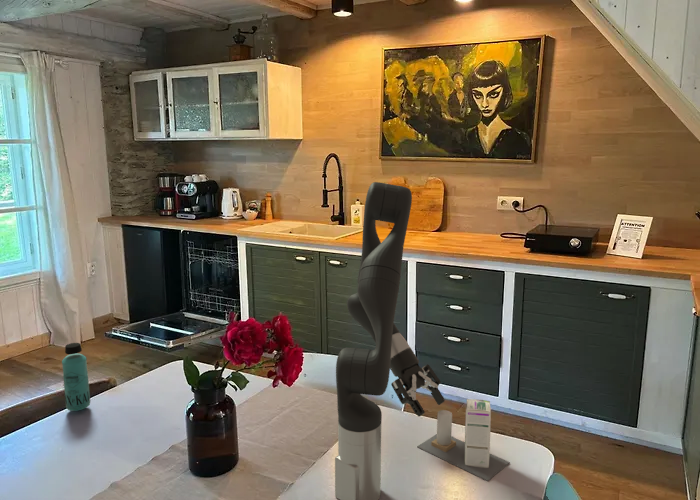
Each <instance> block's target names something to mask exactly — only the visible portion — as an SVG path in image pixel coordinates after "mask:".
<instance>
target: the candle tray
mask: <svg viewBox="0 0 700 500" xmlns="http://www.w3.org/2000/svg"><path fill="white" fill-rule="evenodd" d="M436 418H437V419H436V422H437V424H436V434H434V435H433V436H431V437H429V438H428V439H426V440H424V441H423V442H422V443H420V444H419V445H417V446H416V447H417V448H418V449H419V450H422V451H424V452H427V453H428V454H430V455H432V456H435V458H438V459H440V460H442V461H444V462H447V463H449V464H451V465H453V466H455V467H457V468H459V469H461V470H463V471H466V472H467V473H470V474H471V475H472V476H473V475H474V476H476V477H477V478H480V479H482V480H484V481H486V482H489V481H491V479H492V478H494V476H496V475H497V474H498V473H500V472H501V471H502V470H503V469H504V468H506V467H507V466H508V465H509V464H510V461H508V460H506V459H503V458H501V457H499V456H497V455H495V454H492V453H489V468H483V467H474V466H468V465H465V441H463V440H461V439H458V438H456V437H454V436H452V427H453V413H452V411H449V410H445V409H442V410H439V411H437V417H436Z"/></svg>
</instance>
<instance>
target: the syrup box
mask: <svg viewBox="0 0 700 500" xmlns="http://www.w3.org/2000/svg"><path fill="white" fill-rule="evenodd" d="M491 416H492V410H491V401H490V400H486V399H475V398H466V403H465V427H464V429H465V430H464V431H465V432H464V442H465V465H468V466H474V467H483V468H489V453H490V452H491V451H490V449H491V443H490V442H491V422H492V421H491ZM490 454H491V453H490Z"/></svg>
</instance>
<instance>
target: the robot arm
mask: <svg viewBox="0 0 700 500" xmlns="http://www.w3.org/2000/svg"><path fill="white" fill-rule="evenodd" d="M412 203H413V197H412V190H411V189H410V188H408V187H405V186H402V185H395V184H392V183H391V184H390V183H385V182H378V181H374V182H372V183H371V184H370V185H369V187H368V189H367V193H366V197H365V203H364V210H363V211H364V212H363V224H362V245H361V247H362V248H361V257H360V258H361V259H360V264H359V268H358V274H357V292H356V293H353V294H351V295H350V296H349V297H348V298H347V301H346V306H347V310H348V313H349V315H350V316H351V317H352V318H353V320H354V321H356V323H358V324H359V325H360V326H361V327H362V328H363V329H364V330H365V332H367V333H368V334H369V335H370V336H371V338H372V340H373V341H374V343H375V348H374V349H368V348H367V349H366V348H357V347H344V348H342V349H341V350H340V351H339V353H338V355H337V358H336V363H335V382H336V397H337V399H336V400H337V401H336V402H337V403H336V405H337V414H338V416H337V419H338V420H337V421H338V422H337V425H338V427H337V429H338V431H337V432H338V433H337V434H338V435H337V440H338V441H337V442H338V443H337V445H338V446H337V447H338V448H337V450H338V451H337V452H338V454H337V456H335V457H334V486H335V487H334V492H335V493H334V497H335V498H337V499H338V500H379V499H380V498H381V489H382V488H381V486H382V485H381V484H382V483H381V481H382V480H381V479H382V477H381V475H382V473H381V472H382V413H383V412H382V410H381V407H380V406H379V405H378V404H377V403H375V402H374V401H372V400H370V399H368V398H367V397H365V396H363V395H367V396H382V395H384V394H385V392H386V391H387V388H388V385H389V379H390V370H391V372H392V373H391V374H393V376H394V377H396V379H395V380H393V381H392V382H391V383H390V384H391V387H392V389H393V391H394V392H395V394H396V396H397V398H398V400H399V402H400V404H402V405H405V404H408V405H409V406H410V407H411V409H412V410H413V412H414V414H415V415H416V416H418V417H421V416H422V415H424V414H425V410H424V408H423V406H422V405H421V403H420V402H419V400H418V399H417V396H416V393H417V390H419V389H420V388H421V389H424V390H425V389H426V391H429V392H430V394H431V396H432V397H433V399H434V402H435V403H436V405H438V406H440V405H442V404H443V403H445V402H446V401H445V398H444V396H443V394H442V392H441V391H440V389H439V385H440V384H441V383H442V382H441V380H440V378H439V377H438V376H437V375H436V374H437V373H435V371H434V370H433V369H432V367H431V366H430V364H426V365H424V366H422V367H421V366H420V365H419V363H420V360H419V359H418V357H417V356H416V354H415V352H414V350H413V349H412V348H411V346H410V344H409V342H408V341H407V340H406V339H405V338H404V336H403V335H402V334H401V332H400V331H399V329H398V327H397V326H396V324H395V323H394V322H395V314H396V309H397V304H398V296H399V291H400V284H401V276H402V264H403V255H404V254H403V253H404V247H405V246H404V245H405V240H406V234H407V229H408V225H409V219H410V216H411V215H410V214H411V210H412V209H411V208H412ZM376 221H380V222H384V223H389V224H390V223H391V224H393V226H392V229H391V230H390V231H389V233H388V234H387V235H386V237H385V238H384V240H382V241H381V239H380V237H379V234H378V232H377V228H376V227H377V226H376Z"/></svg>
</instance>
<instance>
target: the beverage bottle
mask: <svg viewBox="0 0 700 500" xmlns="http://www.w3.org/2000/svg"><path fill="white" fill-rule="evenodd" d="M82 351H83V350H82V344H81V343H79V342H71V343H68V344H66V345H65V347H64V353H65V354H66V356H65V357H63V359H62V360H61V364H62V365H61V366H62V373H63V376H62V379H63V384H62V385H63V390H64V391H63V392H64V403H65V408H66V409H67V410H68V411H72V412H74V411H75V412H76V411H81V410H83V409H86V408H88V407H89V406H90V404H91V392H90V380H89V373H88V364H87V363H88V362H87V356H85V355H84V354H82V353H81V352H82Z"/></svg>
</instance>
